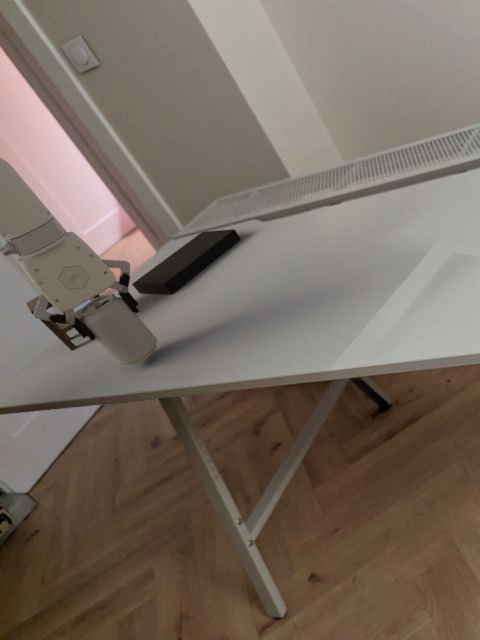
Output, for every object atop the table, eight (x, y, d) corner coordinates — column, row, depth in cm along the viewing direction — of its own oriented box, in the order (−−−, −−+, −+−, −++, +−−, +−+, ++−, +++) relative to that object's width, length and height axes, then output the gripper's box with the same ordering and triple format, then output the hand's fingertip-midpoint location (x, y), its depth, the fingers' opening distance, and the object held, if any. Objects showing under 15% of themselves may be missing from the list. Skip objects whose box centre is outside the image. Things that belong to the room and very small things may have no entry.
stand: (70, 351, 117) (30, 312, 111) (64, 340, 123) (25, 303, 117) (122, 318, 122) (86, 279, 116) (113, 310, 128) (79, 272, 122)
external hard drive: (139, 293, 131) (131, 283, 129) (208, 241, 145) (201, 231, 143) (172, 294, 123) (163, 284, 122) (241, 239, 137) (234, 229, 135)
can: (144, 365, 96) (97, 312, 89) (113, 370, 99) (65, 319, 92) (168, 338, 102) (125, 286, 95) (138, 343, 104) (94, 293, 97)
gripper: (-18, 272, 79) (70, 360, 90) (96, 213, 87) (165, 301, 97) (-20, 263, 85) (63, 347, 95) (87, 208, 92) (153, 292, 102)
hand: (114, 323), depth 96 cm, fingers closed on can, 7 cm apart
